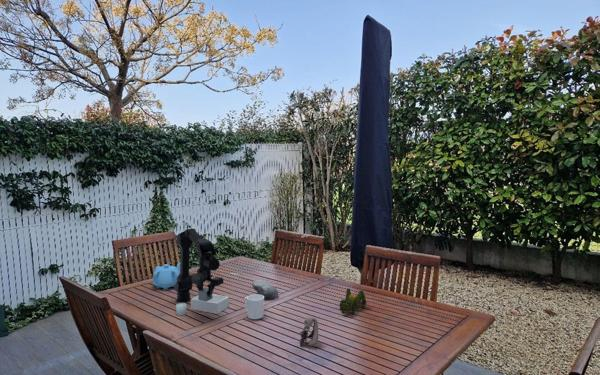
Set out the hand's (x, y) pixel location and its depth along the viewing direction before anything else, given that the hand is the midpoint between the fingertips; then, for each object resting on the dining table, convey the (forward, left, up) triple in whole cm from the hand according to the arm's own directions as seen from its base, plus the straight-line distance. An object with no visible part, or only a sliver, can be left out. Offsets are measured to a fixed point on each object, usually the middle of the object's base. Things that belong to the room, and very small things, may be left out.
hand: (205, 295), depth 195 cm
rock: (+15, +37, -11) cm, 42 cm away
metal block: (0, 0, -2) cm, 2 cm away
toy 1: (+61, -9, -11) cm, 62 cm away
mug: (+24, +8, -11) cm, 27 cm away
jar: (-13, -3, -11) cm, 17 cm away
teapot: (-51, +30, -11) cm, 61 cm away
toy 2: (+68, +38, -11) cm, 79 cm away
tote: (-4, +10, -11) cm, 15 cm away
